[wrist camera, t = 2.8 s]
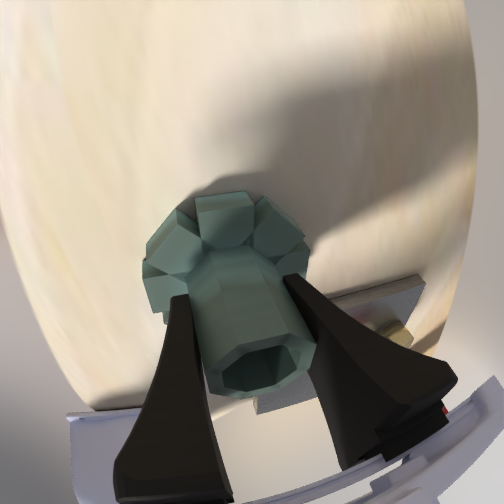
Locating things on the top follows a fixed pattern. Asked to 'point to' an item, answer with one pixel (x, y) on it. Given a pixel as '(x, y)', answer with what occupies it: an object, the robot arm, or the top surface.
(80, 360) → the top surface
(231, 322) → the gear
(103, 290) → the top surface
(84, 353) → the top surface
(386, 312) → the carrier plate
